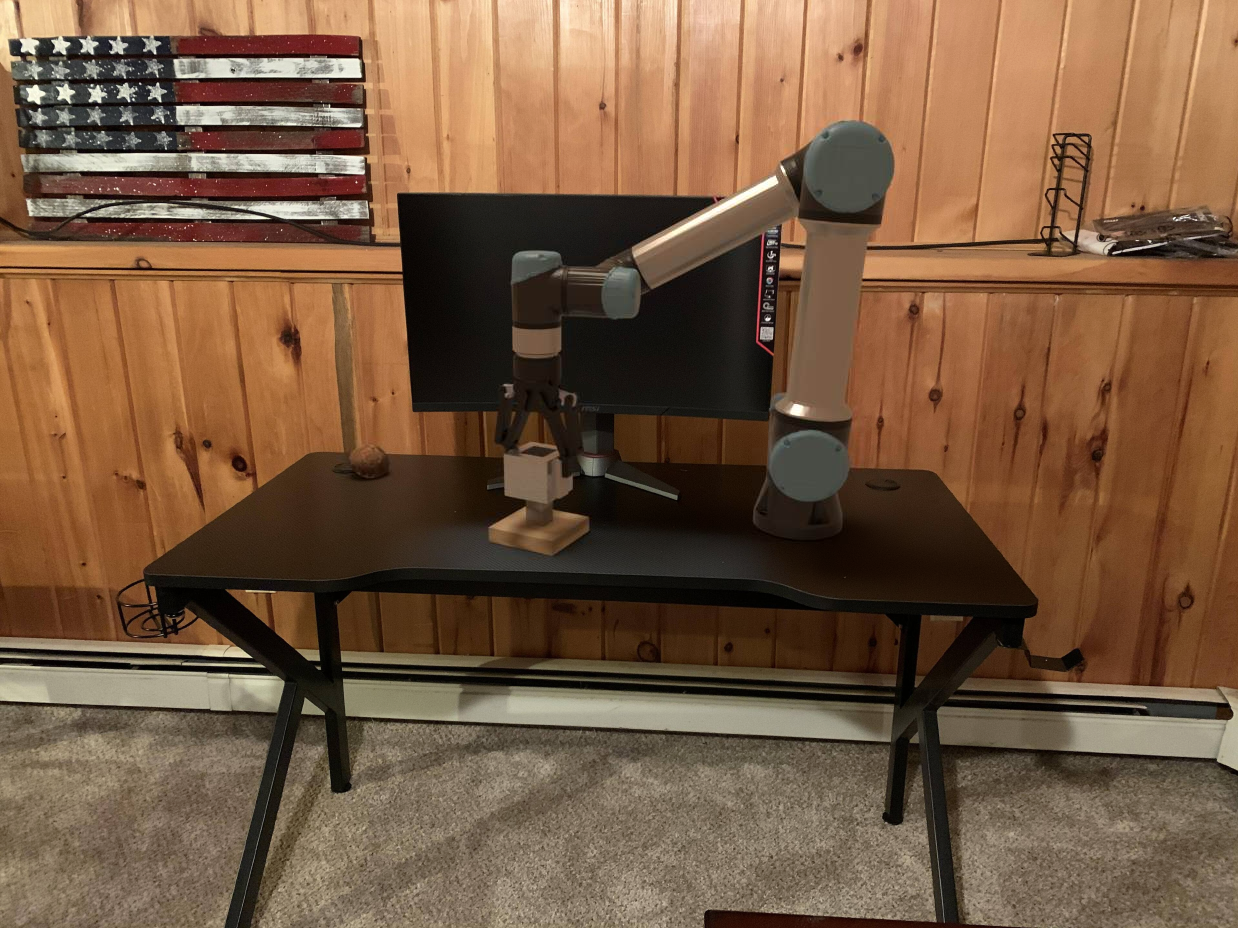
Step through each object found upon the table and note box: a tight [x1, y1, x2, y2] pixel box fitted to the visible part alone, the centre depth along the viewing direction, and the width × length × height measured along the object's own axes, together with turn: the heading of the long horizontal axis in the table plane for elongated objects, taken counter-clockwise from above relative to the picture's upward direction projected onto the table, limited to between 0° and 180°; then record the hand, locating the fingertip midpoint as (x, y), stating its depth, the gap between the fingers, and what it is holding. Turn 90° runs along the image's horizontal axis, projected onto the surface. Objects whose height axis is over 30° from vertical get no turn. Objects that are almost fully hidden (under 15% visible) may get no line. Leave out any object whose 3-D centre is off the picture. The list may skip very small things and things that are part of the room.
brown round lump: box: [348, 443, 390, 479], centre depth 181 cm, size 8×8×6 cm
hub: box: [503, 441, 574, 504], centre depth 149 cm, size 8×8×7 cm
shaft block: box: [488, 500, 590, 557], centre depth 151 cm, size 12×12×8 cm
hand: (539, 491), depth 150 cm, fingers closed on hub, 8 cm apart
